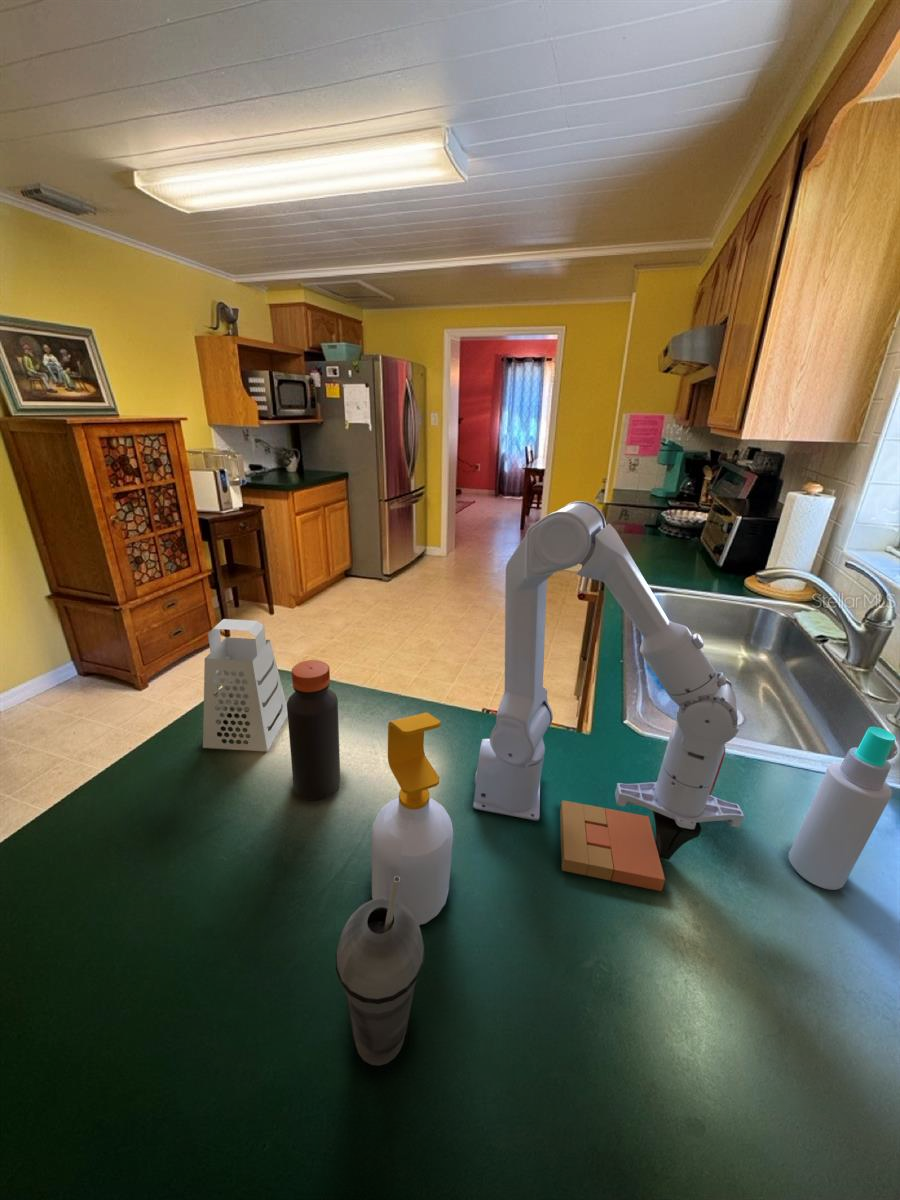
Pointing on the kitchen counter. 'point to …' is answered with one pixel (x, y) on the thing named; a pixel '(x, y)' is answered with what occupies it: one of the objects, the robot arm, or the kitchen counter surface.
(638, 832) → the loose pad
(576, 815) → the base pad
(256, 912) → the kitchen counter surface
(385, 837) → the soap bottle
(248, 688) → the grater
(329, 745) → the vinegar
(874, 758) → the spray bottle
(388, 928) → the beverage cup
